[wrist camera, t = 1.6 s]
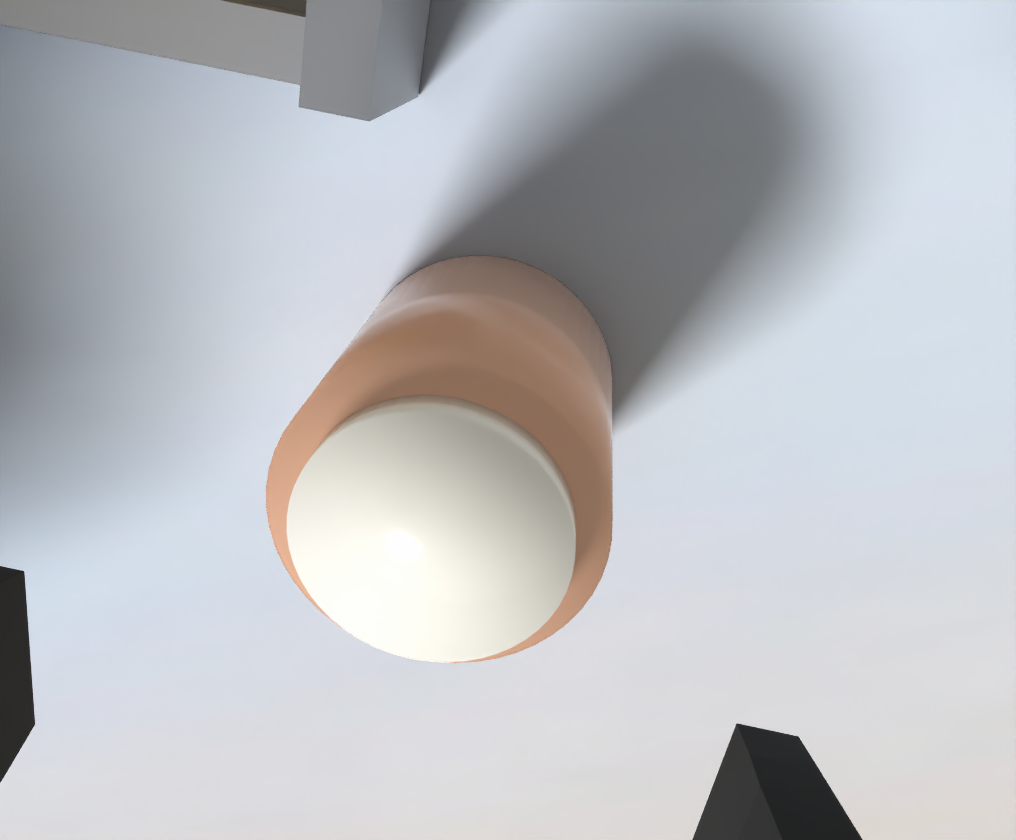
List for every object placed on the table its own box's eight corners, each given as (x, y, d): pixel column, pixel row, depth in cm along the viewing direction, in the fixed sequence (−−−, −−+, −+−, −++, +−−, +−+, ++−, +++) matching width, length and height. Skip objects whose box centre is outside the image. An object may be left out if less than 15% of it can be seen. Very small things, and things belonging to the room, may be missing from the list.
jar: (582, 513, 19) (570, 719, 13) (347, 464, 19) (242, 649, 14) (639, 284, 17) (652, 421, 11) (374, 231, 17) (261, 340, 11)
